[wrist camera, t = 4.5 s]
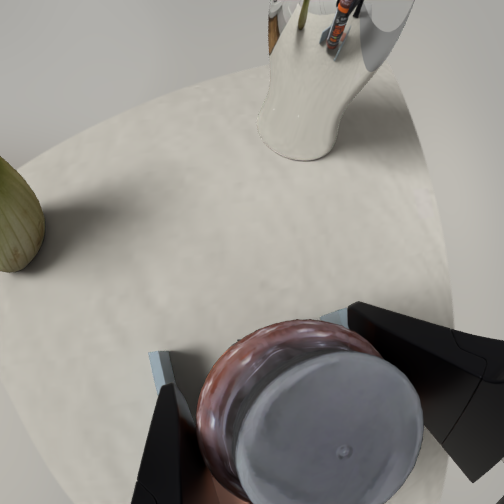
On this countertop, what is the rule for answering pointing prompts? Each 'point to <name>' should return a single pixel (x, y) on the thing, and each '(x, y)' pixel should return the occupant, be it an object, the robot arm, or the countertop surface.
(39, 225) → the fennel bulb
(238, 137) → the countertop surface
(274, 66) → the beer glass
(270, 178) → the countertop surface
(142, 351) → the countertop surface
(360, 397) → the supplement bottle
